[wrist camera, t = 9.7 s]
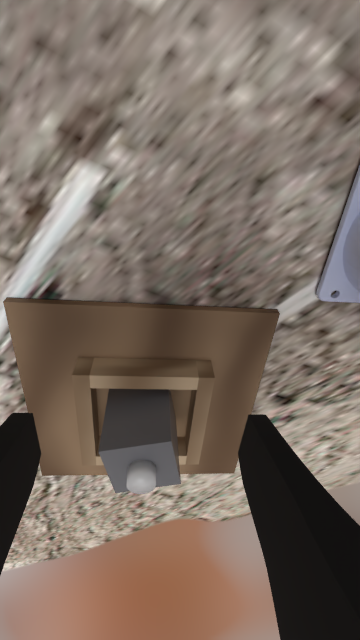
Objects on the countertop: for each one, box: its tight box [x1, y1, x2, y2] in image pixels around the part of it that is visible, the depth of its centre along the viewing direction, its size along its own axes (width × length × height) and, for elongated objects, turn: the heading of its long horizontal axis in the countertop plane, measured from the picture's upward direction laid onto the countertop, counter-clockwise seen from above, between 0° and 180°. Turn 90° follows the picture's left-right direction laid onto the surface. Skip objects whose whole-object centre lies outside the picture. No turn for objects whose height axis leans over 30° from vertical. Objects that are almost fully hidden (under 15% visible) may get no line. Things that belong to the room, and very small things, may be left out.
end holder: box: [3, 298, 280, 476], centre depth 22 cm, size 16×16×2 cm
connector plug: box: [98, 389, 181, 494], centre depth 20 cm, size 4×4×6 cm
